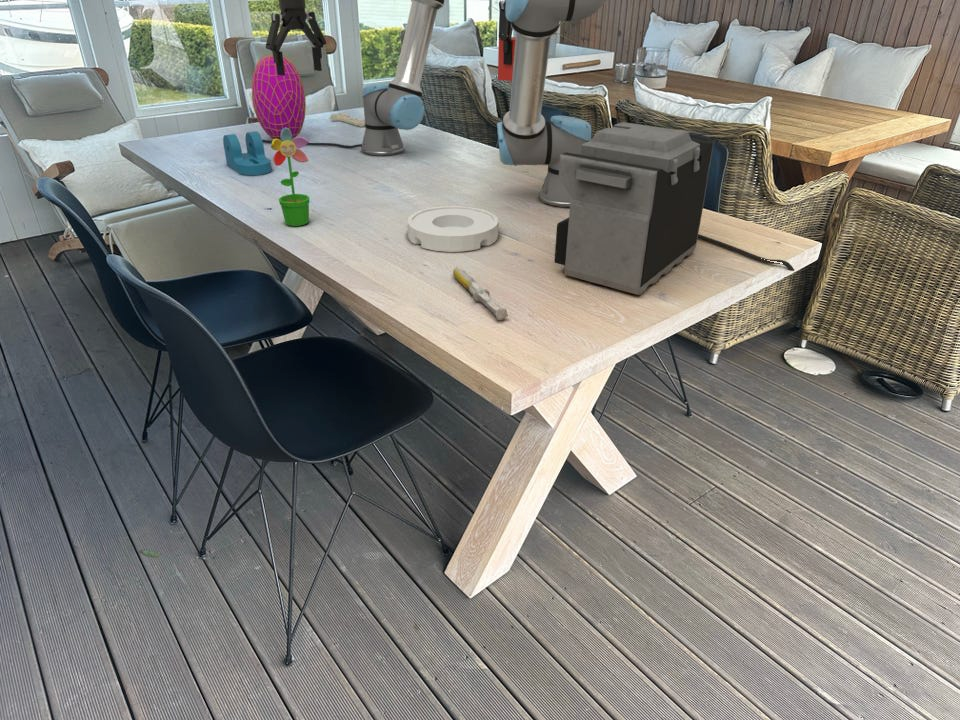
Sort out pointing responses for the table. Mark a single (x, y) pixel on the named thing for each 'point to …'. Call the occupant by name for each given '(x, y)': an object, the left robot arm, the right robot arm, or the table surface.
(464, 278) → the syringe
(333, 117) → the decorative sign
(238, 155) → the camera mount
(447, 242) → the ashtray
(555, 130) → the right robot arm
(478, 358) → the table surface
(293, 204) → the potted flower
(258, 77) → the decorative egg
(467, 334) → the table surface
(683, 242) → the grey cooler box
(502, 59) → the brick
